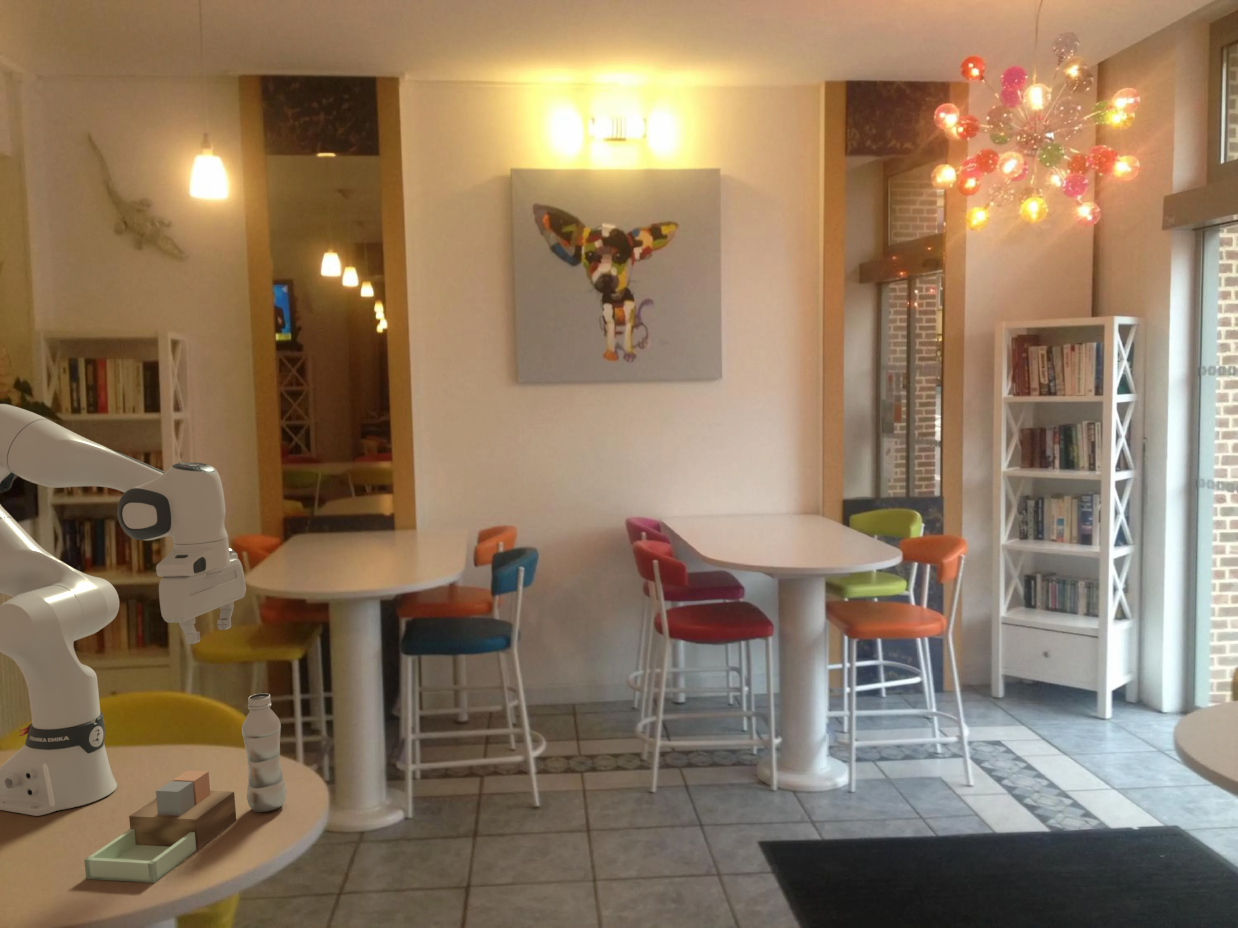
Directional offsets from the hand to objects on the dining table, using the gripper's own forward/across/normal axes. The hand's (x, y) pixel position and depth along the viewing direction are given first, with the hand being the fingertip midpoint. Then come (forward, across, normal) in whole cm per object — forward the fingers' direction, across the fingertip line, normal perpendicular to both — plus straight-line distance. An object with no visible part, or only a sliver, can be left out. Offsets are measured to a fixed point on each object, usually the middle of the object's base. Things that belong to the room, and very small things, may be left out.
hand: (209, 635), depth 184 cm
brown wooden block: (+30, +11, -1) cm, 32 cm away
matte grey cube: (+26, +13, 0) cm, 29 cm away
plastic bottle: (+31, 0, +8) cm, 32 cm away
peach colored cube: (+26, +9, 0) cm, 27 cm away
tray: (+30, +22, -1) cm, 38 cm away
